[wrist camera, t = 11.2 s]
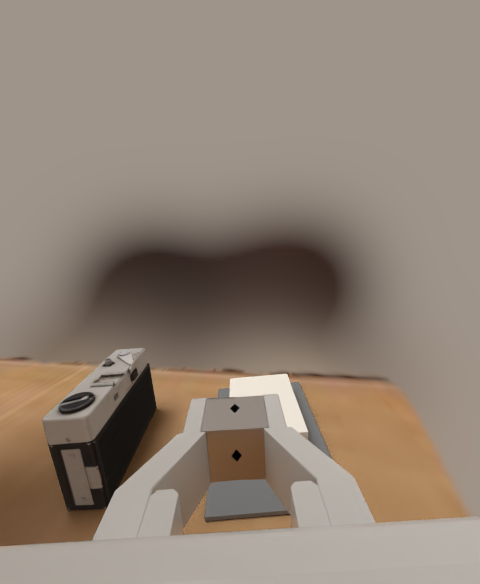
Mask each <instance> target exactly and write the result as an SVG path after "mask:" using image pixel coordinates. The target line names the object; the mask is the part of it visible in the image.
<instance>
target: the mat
mask: <svg viewBox="0 0 480 584" xmlns="http://www.w3.org/2000/svg"><path fill="white" fill-rule="evenodd" d="M290 384H291V386H292V389H293V392H294V395H295V397H296V400H297V403H298V405H299V408H300V411H301V414H302V416H303V419H304V422H305V424H306V427H307V430H308V440H309V441H310V442H311V443H312V444H313V445H315V446H316V447H317V448H318V449H320V450H321V451H322V452H323V453H325V454H326V455H327V456H328V457H330V458H331V456H330V454H329V451H328V449H327V447H326V444H325V442H324V440H323V437H322V435H321V433H320V430H319V428H318V426H317V423H316V421H315V419H314V416H313V414H312V412H311V409H310V407H309V405H308V402H307V400H306V398H305V395H304V393H303V391H302V388H301V386H300V384H299V382H294V383H290ZM229 396H230V388H225V389H219V390H218V398H220V397H229ZM331 459H332V458H331ZM284 514H289V513H288V511H287V510H286V508H285V507H284V505H283V504H282V503H281V501H280V500H279V498H278V497H277V496H276V494H275V493H274V491H273V490H272V489H271V487H270V486H269V484H268V483H267V482H266V479H259V480H234V481H223V482H212V483H211V485H210V487H209V488H208V491H207V500H206V509H205V521H214V520H226V519H238V518H249V517H261V516H272V515H284Z"/></svg>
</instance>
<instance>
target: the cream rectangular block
mask: <svg viewBox="0 0 480 584" xmlns="http://www.w3.org/2000/svg"><path fill="white" fill-rule="evenodd" d="M267 394H278V395H279V399H280V403H281V407H282V410H283V414H284V418H285V422H286V425H287V427H292V428H293V429H295V430H296V431H297V432H298V433H300V434H301V435H302V436H303V437H305V438H306V439H307V440H308V430H307V427H306V424H305V422H304V419H303V416H302V414H301V411H300V408H299V405H298V403H297V400H296V397H295V395H294V392H293V389H292V386H291V384H290V381H289V378H288V376H287V374H278V375H267V376H256V377H244V378H233V379H230V396H229V397H246V396H260V395H267ZM308 441H309V440H308Z"/></svg>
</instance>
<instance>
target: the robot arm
mask: <svg viewBox="0 0 480 584" xmlns="http://www.w3.org/2000/svg"><path fill="white" fill-rule="evenodd" d="M259 479H266V482H267V483H268V484H269V486H270V487H271V489H272V490H273V491H274V493H275V494H276V496H277V497H278V498H279V500H280V501H281V503H282V504H283V505H284V507H285V508H286V510H287V511H288V513H289V514H290V515H291V528H283V529H267V530H251V531H235V532H219V533H203V534H187V535H184V532H183V528H184V527H185V525H186V523H187V522H188V520H189V519H190V517H191V515H192V514H193V512H194V511H195V509H196V507H197V506H198V504H199V503H200V501H201V499H202V498H203V496H204V495H205V493H206V491H207V490H208V488H209V487H210V485H211V483H212V482H223V481H234V480H259ZM0 584H480V516H478V517H477V516H476V517H460V518H444V519H429V520H413V521H397V522H381V523H376V522H375V520H374V518H373V516H372V514H371V512H370V510H369V508H368V506H367V504H366V502H365V500H364V497H363V495H362V493H361V491H360V489H359V487H358V485H357V483H356V481H355V479H354V477H353V476H352V475H351V474H349V473H348V472H347V471H346V470H344V469H343V468H342V467H341V466H339V465H338V464H337V463H336V462H334V461H333V460H332V459H331V458H330V457H328V456H327V455H326V454H325V453H323V452H322V451H321V450H320V449H318V448H317V447H316V446H315V445H313V444H312V443H311V442H310V441H308V440H307V439H306V438H305V437H303V436H302V435H301V434H300V433H298V432H297V431H296V430H295V429H293V428H292V427H287V425H286V422H285V418H284V414H283V410H282V407H281V403H280V399H279V395H278V394H267V395H260V396H246V397H220V398H198V399H192V401H191V403H190V407H189V411H188V415H187V418H186V422H185V426H184V430H183V433H178V434H177V435H176V436H175V437H174V438H173V439H172V440H171V441H169V442H168V443H167V444H166V445H165V446H164V447H163V448H162V449H161V450H160V451H158V452H157V453H156V454H155V455H154V456H153V457H152V458H151V459H150V460H149V461H147V462H146V463H145V464H144V465H143V466H142V467H141V468H140V469H139V470H138V471H136V472H135V473H134V474H133V475H132V476H131V477H130V478H129V479H128V480H126V481H125V482H124V483H123V484H122V485H121V486H120V487H119V488H118V489H117V490H115V492H114V494H113V496H112V498H111V501H110V503H109V505H108V507H107V509H106V511H105V514H104V516H103V518H102V520H101V522H100V524H99V527H98V529H97V531H96V533H95V535H94V537H93V540H92V541H76V542H60V543H44V544H28V545H12V546H0Z"/></svg>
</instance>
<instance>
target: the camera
mask: <svg viewBox="0 0 480 584" xmlns="http://www.w3.org/2000/svg"><path fill="white" fill-rule="evenodd" d="M156 408H157V407H156V402H155V396H154V390H153V384H152V378H151V372H150V366H149V364H148V363H147V360H146V354H145V349H144V348H136V349H123V350H116V351H115V352H114V353H113V354H112V355H110V356H109V357H108V358H107V359H105V360H104V362H103V363H102V364H100V365H99V366H98V367H97V368H96V369H95V370H94V371H93V372H92V373H91V374H90V375H89V376H88V377H87V378H85V379H84V380H83V381H82V382H81V383H80V384H79V385H78V386H77V387H76V388H75V389H74V390H72V391H71V392H70V393H69V394H68V395H67V396H66V397H65V398H64V399H63V400H62V401H61V402H60V403H58V404H57V405H56V406H55V407H54V408H53V409H52V410H51V411H50V412H49V413H48V414H47V415H45V416H44V417H43V419H42V422H43V426H44V430H45V434H46V438H47V442H48V446H49V449H50V452H51V456H52V459H53V462H54V466H55V469H56V473H57V476H58V480H59V483H60V487H61V490H62V493H63V497H64V500H65V504H66V507H67V510H68V511H70V510H90V509H106V508H107V507H108V505H109V503H110V501H111V498H112V496H113V494H114V492H115V490H117V488H118V485H119V483H120V481H121V479H122V477H123V475H124V473H125V471H126V469H127V467H128V465H129V463H130V461H131V459H132V457H133V455H134V453H135V451H136V449H137V447H138V445H139V442H140V440H141V438H142V436H143V434H144V432H145V430H146V428H147V426H148V424H149V422H150V420H151V418H152V416H153V414H154V412H155V410H156Z"/></svg>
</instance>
